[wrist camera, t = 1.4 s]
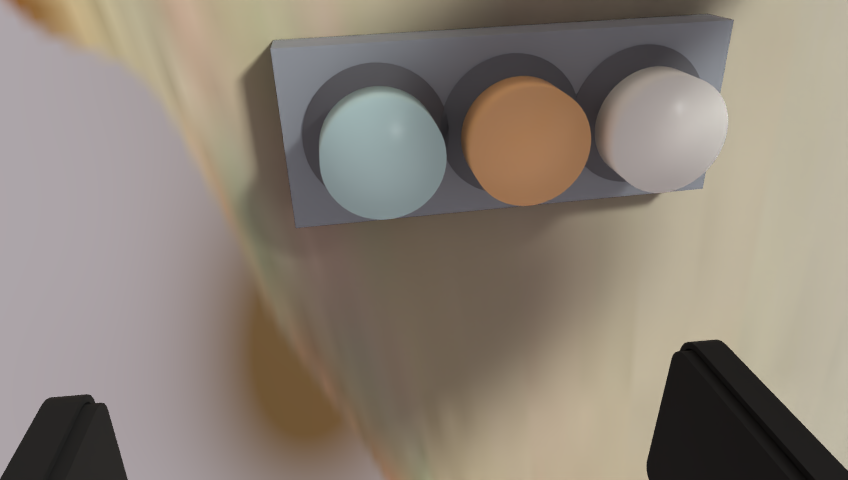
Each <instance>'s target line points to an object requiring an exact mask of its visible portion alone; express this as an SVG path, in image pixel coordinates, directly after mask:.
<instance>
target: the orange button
mask: <svg viewBox="0 0 848 480" xmlns="http://www.w3.org/2000/svg"><path fill="white" fill-rule="evenodd" d="M461 146H462V151H463V155H464V157H465V160H466V162H467V164H468V166H469V167H470V169H471V170H472V172H473V174H474V175H475V177H476V178H477V180H478V182H479V183H480V184H481V186H482V187H483V188H484V189H485V190H486V191H487V192H488V193H489V194H490V195H491V196H493V197H494V198H496V199H497V200H499V201H501V202H504V203H507V204H511V205H517V206H530V205H537V204H540V203H544V202H546V201H549V200H551V199H553V198H555V197H557V196H558V195H560V194H561V193H563V192H564V191H565V190H566V189H568V188H569V187H570V186H571V185H572V184H573V183H574V181H575V180H576V179H577V178H578V176H579V175H580V174H581V172H582V170H583V168H584V167H585V164H586V162H587V159H588V156H589V153H590V147H591V130H590V126H589V122H588V119H587V117H586V114H585V113H584V111H583V109H582V108H581V107H580V106H579V104H578V103H577V102H576V101H575V100H574V99H572V98H571V97H570V96H568V95H567V94H565V93H564V92H563V91H561V90H560V89H558V88H557V87H555V86H554V85H552V84H551V83H549V82H547V81H545V80H543V79H540V78H537V77H531V76H516V77H510V78H507V79H504V80H501V81H499V82H497V83H495V84H493V85H491V86H490V87H488V88H487V89H486V90H484V91H483V92H482V93H481V94H480V95H479V96H478V97H477V98H476V100H475V101H474V102H473V103H472V105H471V107H470V108H469V110H468V112H467V114H466V116H465V119H464V122H463V126H462V131H461Z"/></svg>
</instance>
